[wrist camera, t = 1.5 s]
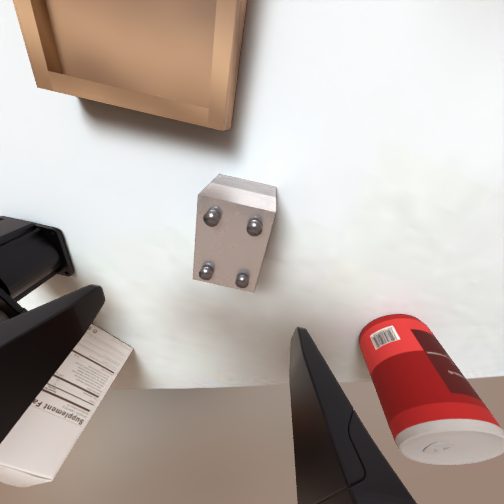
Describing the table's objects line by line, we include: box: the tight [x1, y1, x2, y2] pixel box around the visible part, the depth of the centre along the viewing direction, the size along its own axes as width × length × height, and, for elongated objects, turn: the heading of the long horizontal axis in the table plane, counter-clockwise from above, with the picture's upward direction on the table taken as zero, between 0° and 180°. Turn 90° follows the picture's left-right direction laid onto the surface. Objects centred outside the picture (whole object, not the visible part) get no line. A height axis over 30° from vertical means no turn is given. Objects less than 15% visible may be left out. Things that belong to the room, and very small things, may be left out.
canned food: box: [360, 314, 504, 465], centre depth 22 cm, size 8×8×11 cm
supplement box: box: [0, 324, 133, 487], centre depth 28 cm, size 9×9×15 cm
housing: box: [193, 174, 276, 292], centre depth 17 cm, size 7×5×7 cm
